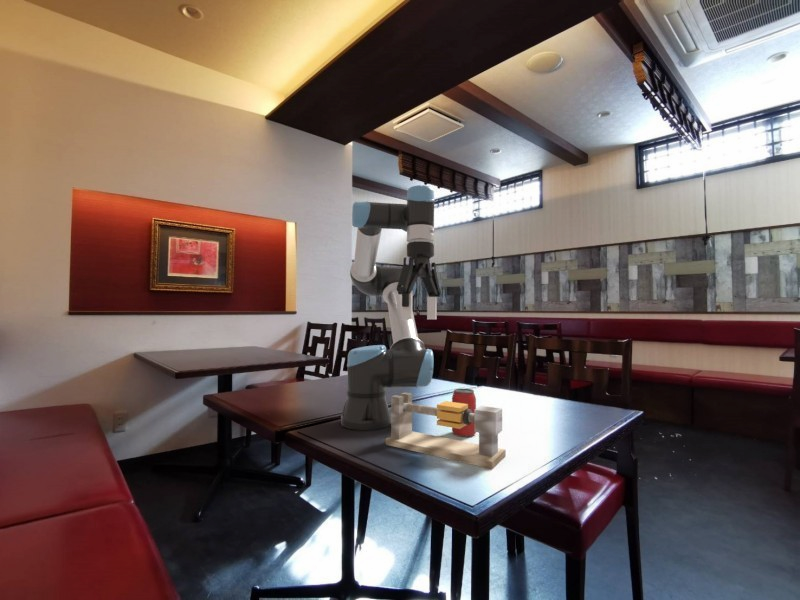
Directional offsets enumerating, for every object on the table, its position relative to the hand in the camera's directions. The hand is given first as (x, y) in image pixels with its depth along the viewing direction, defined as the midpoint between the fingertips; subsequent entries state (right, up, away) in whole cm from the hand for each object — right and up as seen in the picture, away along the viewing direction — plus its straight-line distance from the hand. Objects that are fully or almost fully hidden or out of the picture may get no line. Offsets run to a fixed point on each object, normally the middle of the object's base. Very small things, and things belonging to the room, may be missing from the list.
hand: (420, 319), depth 106 cm
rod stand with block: (+5, -31, -12) cm, 34 cm away
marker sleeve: (+7, -25, -13) cm, 29 cm away
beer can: (+12, -32, +1) cm, 34 cm away
